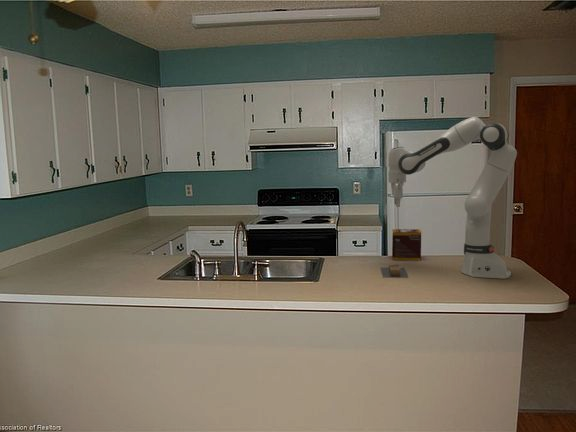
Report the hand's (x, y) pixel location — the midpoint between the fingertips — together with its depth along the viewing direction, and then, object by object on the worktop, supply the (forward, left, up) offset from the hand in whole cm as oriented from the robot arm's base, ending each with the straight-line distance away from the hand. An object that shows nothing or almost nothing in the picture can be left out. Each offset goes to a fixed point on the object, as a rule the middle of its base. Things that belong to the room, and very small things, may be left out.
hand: (397, 205), depth 267 cm
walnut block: (-4, +16, -29) cm, 33 cm away
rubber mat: (-5, +18, -31) cm, 36 cm away
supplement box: (0, -16, -31) cm, 35 cm away
